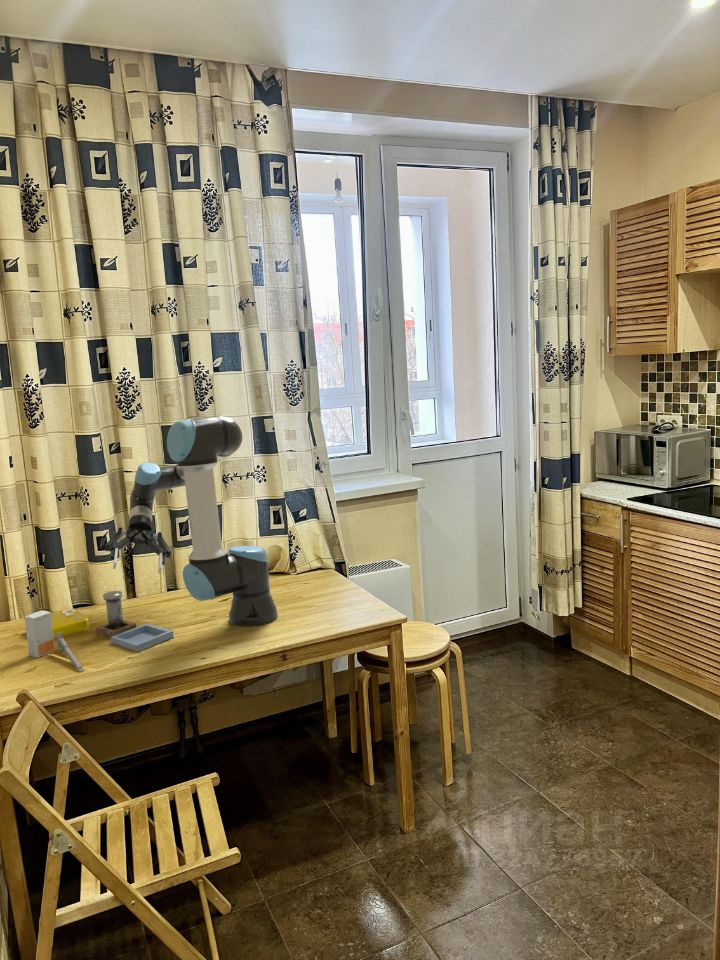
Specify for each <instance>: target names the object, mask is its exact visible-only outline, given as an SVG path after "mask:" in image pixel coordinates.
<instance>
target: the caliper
mask: <svg viewBox="0 0 720 960" xmlns="http://www.w3.org/2000/svg"><path fill="white" fill-rule="evenodd" d="M57 635H58V636H57V638H56V643H57V649H58V650H59V651H60V653H62V652H63V653H64V654H65V655H66V656H67V658H68V659H69V660H70V662H71V663H72V664H73V666H74V667H75V669H76V670H77V671H78V672H79V673H82V672H84V668H83V666H82V664H81V662H80V661H79V660H78V658H77V657H76V656H75V654H74V653H73V652H72V650H71V648H69V645H68V643H67V641H66V640H65V639H64V637H63V636H62V634H61V632H60V633H57Z"/></svg>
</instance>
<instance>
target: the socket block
mask: <svg viewBox="0 0 720 960" xmlns="http://www.w3.org/2000/svg"><path fill="white" fill-rule="evenodd" d="M123 623H124V627H121V628H118V629H116V630H111V629H109V625H108V623H105V624H102V625H100V626H96V635H100V636H103V637H105V638H108V639H111V637H112V636H115V635H118V634H120V633H123V632H126V631H128V630H131V629H134V628H136V627H137V623H135V622H132V621H128V620H125V619H123Z"/></svg>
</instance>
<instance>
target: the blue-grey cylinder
mask: <svg viewBox="0 0 720 960" xmlns="http://www.w3.org/2000/svg"><path fill="white" fill-rule="evenodd" d="M102 597H103V598H102V600H103V601H105V605H106V606H105V607H106V614H107V624H108V625H109V629H111V630H116V629H118V628H121V627H124V623H123V620H124V616H123V607H122V606H123V605H122V598H123V591H121V590H114V591H113V590H112V591H108V592H105V593H103V594H102Z"/></svg>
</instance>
